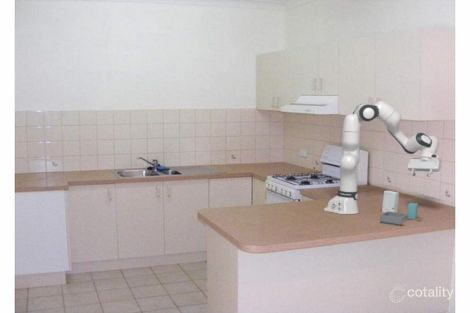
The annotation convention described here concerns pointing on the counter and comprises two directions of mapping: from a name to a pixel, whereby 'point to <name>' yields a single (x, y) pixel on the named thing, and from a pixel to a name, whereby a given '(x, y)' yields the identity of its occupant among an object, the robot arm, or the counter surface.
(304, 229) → the counter surface
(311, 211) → the counter surface
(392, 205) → the skincare box
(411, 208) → the strut
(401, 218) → the bin
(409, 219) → the brown wooden lid
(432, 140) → the robot arm
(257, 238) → the counter surface
